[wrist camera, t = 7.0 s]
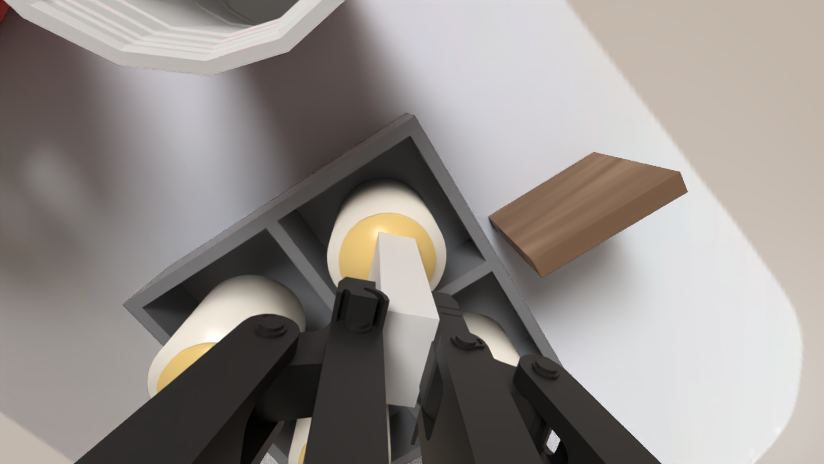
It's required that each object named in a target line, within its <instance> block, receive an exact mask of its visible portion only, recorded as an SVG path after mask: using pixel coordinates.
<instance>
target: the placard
mask: <svg viewBox="0 0 824 464" xmlns="http://www.w3.org/2000/svg"><path fill="white" fill-rule="evenodd" d="M687 192H688V191H687V189H686V186H685V183H684V181H683V178H682V176H681V173H680V172H678V171H674V170H669V169H665V168H661V167H656V166H652V165H648V164H643V163H639V162H635V161H630V160H626V159H622V158H617V157H613V156H609V155H604V154H600V153H596V152H593V153H592V154H590V155H588V156H587V157H585V158H583V159H582V160H580V161H578V162H577V163H575V164H574V165H572V166H570V167H569V168H567V169H565V170H564V171H562V172H560V173H559V174H557V175H556V176H554V177H552V178H551V179H549V180H547V181H546V182H544V183H542V184H541V185H539V186H537V187H536V188H534V189H533V190H531V191H529V192H528V193H526V194H524V195H523V196H521V197H519V198H518V199H516V200H515V201H513V202H511V203H510V204H508V205H506V206H505V207H503V208H501V209H500V210H498V211H497V212H495V213H493V214H492V215H490V216H488V217H489V219H490V220H491V222H492V224H493V225H494V227H495V229H496V230H497V231H498V233H499V234H500V235H501V236H502V237H503V238H504V239H505V240H506V241H507V242H508V243H509V244H510V245H511V246H512V247H513V248H514V249H515V250H516V251H517V252H518V253H519V254H520V255H521V256H522V257H523V259H524V260H525V261H526V262H527V263H528V264H529V265H530V266H531V267H532V268H533V269H534V270H535V271H536V272H537V273H538V274H539V275H540V276H541V277H542V278H543V277H544V276H546V275H548V274H549V273H551V272H553V271H554V270H556V269H558V268H560V267H561V266H563V265H565V264H566V263H568V262H570V261H571V260H573V259H575V258H577V257H578V256H580V255H582V254H583V253H585V252H587V251H588V250H590V249H592V248H594V247H595V246H597V245H599V244H600V243H602V242H604V241H605V240H607V239H609V238H610V237H612V236H614V235H616V234H617V233H619V232H621V231H622V230H624V229H626V228H627V227H629V226H631V225H633V224H634V223H636V222H638V221H639V220H641V219H643V218H644V217H646V216H648V215H650V214H651V213H653V212H655V211H656V210H658V209H660V208H661V207H663V206H665V205H667V204H668V203H670V202H672V201H673V200H675V199H677V198H678V197H680V196H682V195H684V194H685V193H687Z"/></svg>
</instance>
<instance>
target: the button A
mask: <svg viewBox="0 0 824 464" xmlns="http://www.w3.org/2000/svg"><path fill="white" fill-rule="evenodd" d="M267 313H268V314H277V315H281V316H285V317H287V318H290V319H292V320H293V321H294V322H295V323H297V324H298V326H299V329H300V332H305V327H306V318H305V312H304V309H303V307H302V305H301V303H300V301H299V299H298V298H297V297H296V295H295V294H294V293H293V292H292V291H291V290H290V289H289V288H287V287H286V286H285V285H283V284H282V283H280V282H278V281H276V280H274V279H271V278H268V277H264V276H260V275H241V276H236V277H232V278H230V279H227V280H225V281H223V282H221V283H220V284H218V285H217V286H216V287H215V288H213V289H212V290H211V291H210V293H209V294H208V295H207V296H206V297H205V299H204V300H203V301H202V302H201V303H200V304H199V306H198V307H197V308H196V309H195V310H194V311H193V313H192V314H191V315H190V316H189V317H188V319H187V320H186V321H185V322H184V323H183V324H182V326H181V327H180V328H179V329H178V330H177V331H176V333H175V334H174V335H173V336H172V337H171V338H170V340H169V341H168V342H167V343H166V344H165V346H164V347H163V348H162V349H161V350H160V351H159V353H158V354H157V355H156V357H155V358H154V360H153V362H152V364H151V366H150V369H149V373H148V391H149V396H150V398H152V397H154V396H155V395H156V394H157V393H158V392H160V391H161V390H162V389H163V388H164V387H165V386H167V385H168V384H169V383H170V382H171V381H173V380H174V379H175V378H176V377H177V376H178V375H180V374H181V373H182V372H183V371H184V370H186V369H187V368H188V367H189V366H190V365H192V364H193V363H194V362H195V361H196V360H197V359H199V358H200V357H201V356H202V355H203V354H205V353H206V352H207V351H208V350H209V349H210V348H212V347H213V346H214V345H215V344H216V343H218V342H219V341H220V340H221V339H222V338H224V337H225V336H226V335H227V334H228V333H229V332H231V331H232V330H233V329H234V328H235V327H237V326H238V325H239V324H240V323H241V322H242V321H244V320H246V319H247V318H249V317H251V316H255V315H259V314H267Z"/></svg>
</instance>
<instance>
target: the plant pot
mask: <svg viewBox="0 0 824 464" xmlns="http://www.w3.org/2000/svg"><path fill="white" fill-rule="evenodd" d="M9 7H10V5H9V4H8V3H7V2H5V1H4V0H0V23H1V21H2V20H3V19H4V17H5V15H6V13H7V11H8V9H9Z"/></svg>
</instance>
